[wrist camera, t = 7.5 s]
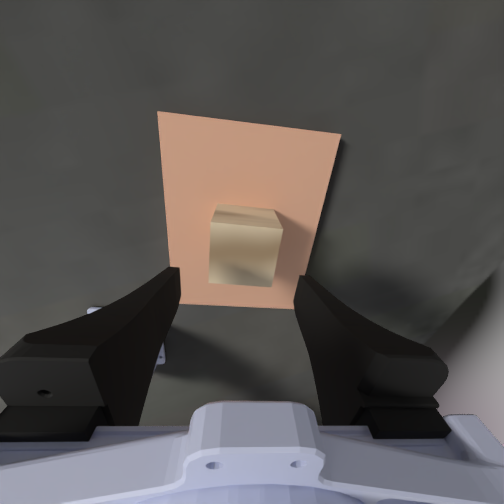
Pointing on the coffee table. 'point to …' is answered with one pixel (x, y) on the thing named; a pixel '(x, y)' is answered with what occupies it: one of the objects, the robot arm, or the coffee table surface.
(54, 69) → the coffee table surface
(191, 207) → the terracotta tile
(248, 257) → the maple cube
